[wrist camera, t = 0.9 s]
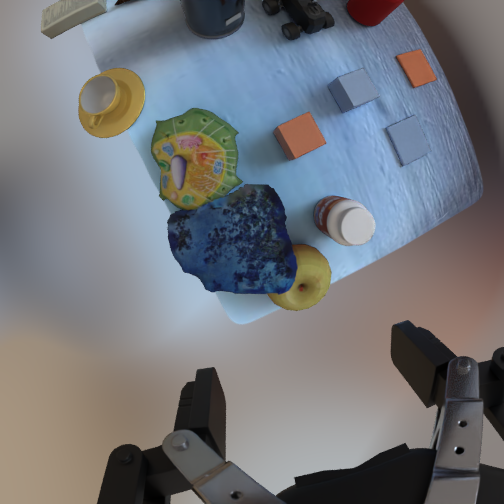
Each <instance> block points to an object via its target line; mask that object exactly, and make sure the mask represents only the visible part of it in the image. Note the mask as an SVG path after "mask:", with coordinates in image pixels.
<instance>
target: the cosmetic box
mask: <svg viewBox="0 0 504 504" xmlns="http://www.w3.org/2000/svg"><path fill="white" fill-rule="evenodd" d="M106 11H107V6H106V0H60V1H58V2H56V3H54V4H53V5H51V6H49V7H48V8H46V9H44V10H43V11H42V12H43V13H42V21H41V32H42V33H43V34H44V35H46V36H48V37H50V38H51V39H52V38H54V37H56V36H58V35H60V34H61V33H63V32H65V31H67V30H69V29H71V28H73V27H75V26H77V25H79V24H81V23H83V22H85V21H87V20H89V19H91V18H93V17H96V16H98V15H100V14H102V13H105V12H106Z"/></svg>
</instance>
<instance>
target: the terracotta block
mask: <svg viewBox="0 0 504 504" xmlns="http://www.w3.org/2000/svg"><path fill="white" fill-rule="evenodd" d="M273 133H274V134H275V136H276V138H277V140H278V142H279V143H280V145H281V147H282V149H283V151H284V152H285V154H286V156H287V158H288V160H289V161H290V160H293V159H296V158H298V157H300V156H302V155H304V154H306V153H308V152H310V151H312V150H314V149H316V148H318V147H320V146H322V145H324V144H326V141H325V139H324V137H323V135H322V134H321V132H320V130H319V128H318V126H317V124H316V123H315V121H314V119H313V117H312V115H311V114H310V112H307V113H305V114H303V115H301V116H298V117H296V118H294V119H292V120H290V121H288V122H286V123H284V124H282V125H280V126H278V127H277V128H276V129H275V130H274V132H273Z"/></svg>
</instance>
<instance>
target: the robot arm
mask: <svg viewBox="0 0 504 504" xmlns="http://www.w3.org/2000/svg"><path fill="white" fill-rule="evenodd" d="M180 2H181V6H182V9H183V12H184V15H185V19H186V24H187V26H188V28H189V29H190V31H191V32H192V33H194V34H195V35H197V36H199V37H202V38H207V39H218V38H223V37H226V36H229V35H231V34H232V33H234V32H236V31H237V30H238V29H239V28H240V27H241V25H242V23H243V21H244V6H245V0H180ZM391 358H392V361H393V363H394V365H395V366H396V368H397V369H398V370H399V372H400V373H401V374H402V375H403V377H404V378H405V379H406V381H407V382H408V383H409V385H410V386H411V387H412V389H413V390H414V391H415V393H416V394H417V395H418V397H419V398H420V399H421V401H422V402H423V403H424V405H425V406H426V408H429V407H431V406H433V405H435V404H436V405H437V406H438V409H437V413H436V419H435V424H434V430H433V434H432V439H431V443H430V446H429V449H427V448H415V449H409V448H408V447H407V445H406V443H404V444H402V445H399V446H397V447H394V448H392V449H389V450H387V451H384V452H382V453H379V454H378V455H376V456H374V457H373V458H371V459H370V460H368V461H366V462H364V463H363V464H361V465H359V466H358V467H355V468H350V469H340V470H327V471H320V472H316V473H312V474H307V475H303V476H298V477H295V483H296V484H295V485H293V486H291V487H289V488H287V489H285V490H283V491H282V492H280V493H278V494H277V495H276V496H275V495H274V494H272V493H271V492H269V491H268V490H267V489H265V488H264V487H263V486H261V485H260V484H259V483H257V482H256V481H255V480H254V479H252V478H251V477H250V476H248V475H247V474H246V473H245V472H244V471H242V470H241V469H240V468H239V467H238V466H236V465H235V464H234V463H232V462H231V461H228V462H226V461H225V460H226V458H225V457H226V443H225V441H226V401H225V396H224V392H223V389H222V387H221V384H220V381H219V378H218V375H217V372H216V369H215V368H214V367H212V368H205V369H198V370H197V372H196V379H195V381H192V382H187V384H186V385H185V386H184V388H183V389H182V391H181V396H180V401H179V407H178V410H177V415H176V420H175V426H174V431H173V432H172V433H170V434H169V435H168V436H166V438H165V439H164V440H163V443H162V445H160V446H158V447H155V448H151V449H147V450H144V451H141V450H140V448H139V447H137V446H135V445H132V444H125V445H121V446H119V447H117V448H116V449H114V450H113V451H112V452H111V454H110V456H109V459H108V463H107V467H106V471H105V475H104V478H103V482H102V486H101V490H100V494H99V498H98V502H97V504H170V498H171V495H173V494H176V493H180V492H184V491H187V490H190V489H191V490H192V491H193V492H194V493H195V494H196V495H197V496H198V497H199V498H200V499H201V500H202V502H203V503H204V504H504V469H500V468H496V467H492V466H488V465H485V464H481V463H480V454H481V444H482V430H483V414H484V415H485V416H486V418H487V419H488V420H489V421H490V423H491V424H492V425H493V427H494V428H495V430H496V431H497V432H498V433H499V435H500V436H501V438H502V439H503V441H504V347H501V348H498V349H497V350H496V351H495V352H494V353H493V357H492V360H489V361H485V362H480V363H477V362H476V361H475V360H474V359H472V358H470V357H466V356H460V357H457V356H456V355H455V354H454V353H453V352H452V351H451V350H450V349H449V348H447V347H446V346H445V345H444V344H443V343H442V342H440V340H439V339H438V338H436V337H435V336H434V335H433V334H432V333H431V332H430V331H429V330H426V329H424V328H421V327H418V328H417V327H415V326H414V325H413V324H412V323H411V322H410V321H409V320H407V321H404V322H400V323H397V324H395V325H393V326H392V333H391Z"/></svg>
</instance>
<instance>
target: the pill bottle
mask: <svg viewBox="0 0 504 504" xmlns="http://www.w3.org/2000/svg"><path fill="white" fill-rule="evenodd" d="M314 221H315V224H316V226H317V227H318V228H319V230H320V231H322V232H323V233H324V234H326V235H327V236H329V237H330V238H332V239H333V240H334V241H336V242H337V243H339V244H341V245H345V246H352V245H363V244H365V243H367V242H368V241H369V240H370V239H371V238H372V236H373V234H374V231H375V221H374V218H373V216H372V214H371V213H370V212H369V211H368V210H367V209H366V208H365V206H364V205H362V204H361V203H360V202H358V201H355V200H351V199H347V198H343V197H339V196H328V197H325V198H323V199H322V200H321V201H320V202H319V203H318V204H317V206H316V208H315V211H314Z"/></svg>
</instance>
